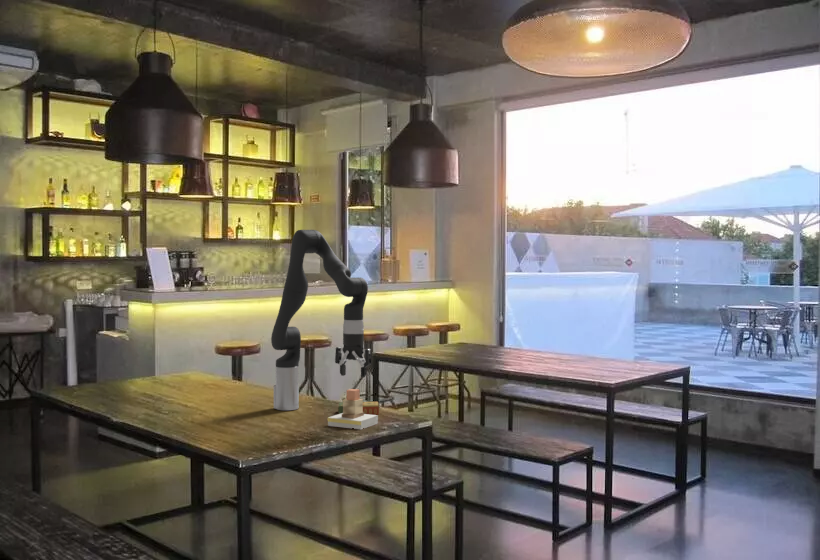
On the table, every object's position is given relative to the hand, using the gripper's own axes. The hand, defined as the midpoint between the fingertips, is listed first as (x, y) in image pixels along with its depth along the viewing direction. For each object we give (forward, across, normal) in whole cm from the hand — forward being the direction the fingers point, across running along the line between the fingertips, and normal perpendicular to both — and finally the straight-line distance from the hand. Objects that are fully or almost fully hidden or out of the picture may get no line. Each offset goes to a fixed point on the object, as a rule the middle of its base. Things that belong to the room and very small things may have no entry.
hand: (353, 376), depth 283 cm
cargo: (+8, 0, 0) cm, 9 cm away
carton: (+18, -10, +20) cm, 29 cm away
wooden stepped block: (+15, 0, 0) cm, 15 cm away
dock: (+18, 0, 0) cm, 18 cm away
